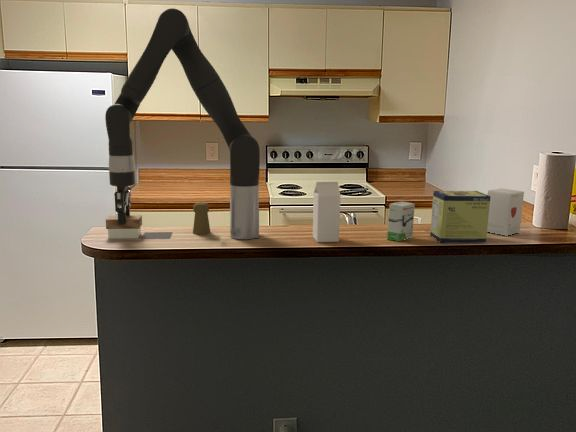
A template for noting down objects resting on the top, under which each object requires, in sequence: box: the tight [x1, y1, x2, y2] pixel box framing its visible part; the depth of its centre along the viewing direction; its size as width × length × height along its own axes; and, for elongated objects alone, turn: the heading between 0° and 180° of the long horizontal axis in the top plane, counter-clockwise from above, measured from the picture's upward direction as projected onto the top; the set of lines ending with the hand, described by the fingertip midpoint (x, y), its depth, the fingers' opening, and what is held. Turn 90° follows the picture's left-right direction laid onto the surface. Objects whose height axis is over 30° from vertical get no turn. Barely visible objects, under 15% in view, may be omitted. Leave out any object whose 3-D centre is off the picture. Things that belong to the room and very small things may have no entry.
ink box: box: [386, 200, 416, 242], centre depth 172 cm, size 9×5×12 cm, turn 137°
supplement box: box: [487, 188, 525, 237], centre depth 182 cm, size 9×9×15 cm
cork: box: [192, 201, 211, 236], centre depth 172 cm, size 6×6×11 cm
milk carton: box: [312, 181, 342, 243], centre depth 168 cm, size 7×7×19 cm
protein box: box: [429, 190, 491, 243], centre depth 172 cm, size 10×16×16 cm
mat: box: [140, 231, 173, 240], centre depth 168 cm, size 9×9×1 cm
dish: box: [107, 226, 142, 239], centre depth 167 cm, size 9×6×4 cm, turn 97°
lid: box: [105, 214, 143, 230], centre depth 166 cm, size 10×6×3 cm, turn 97°
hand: (124, 221), depth 166 cm, fingers open, 7 cm apart
